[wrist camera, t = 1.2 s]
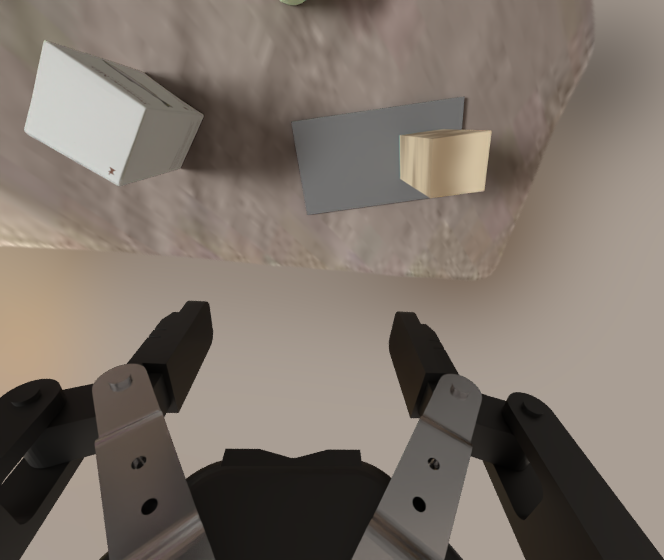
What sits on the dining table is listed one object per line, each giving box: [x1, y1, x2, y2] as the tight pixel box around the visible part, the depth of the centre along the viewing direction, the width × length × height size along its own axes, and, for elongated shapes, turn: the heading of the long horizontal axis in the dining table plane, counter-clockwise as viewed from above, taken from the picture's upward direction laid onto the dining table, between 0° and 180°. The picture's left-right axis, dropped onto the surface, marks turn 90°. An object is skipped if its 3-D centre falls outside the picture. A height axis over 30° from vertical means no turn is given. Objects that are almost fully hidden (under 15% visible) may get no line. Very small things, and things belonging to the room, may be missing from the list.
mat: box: [291, 97, 464, 215], centre depth 36 cm, size 20×11×1 cm, turn 97°
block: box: [399, 129, 492, 198], centre depth 30 cm, size 5×5×11 cm
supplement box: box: [24, 40, 204, 186], centre depth 28 cm, size 7×7×13 cm
